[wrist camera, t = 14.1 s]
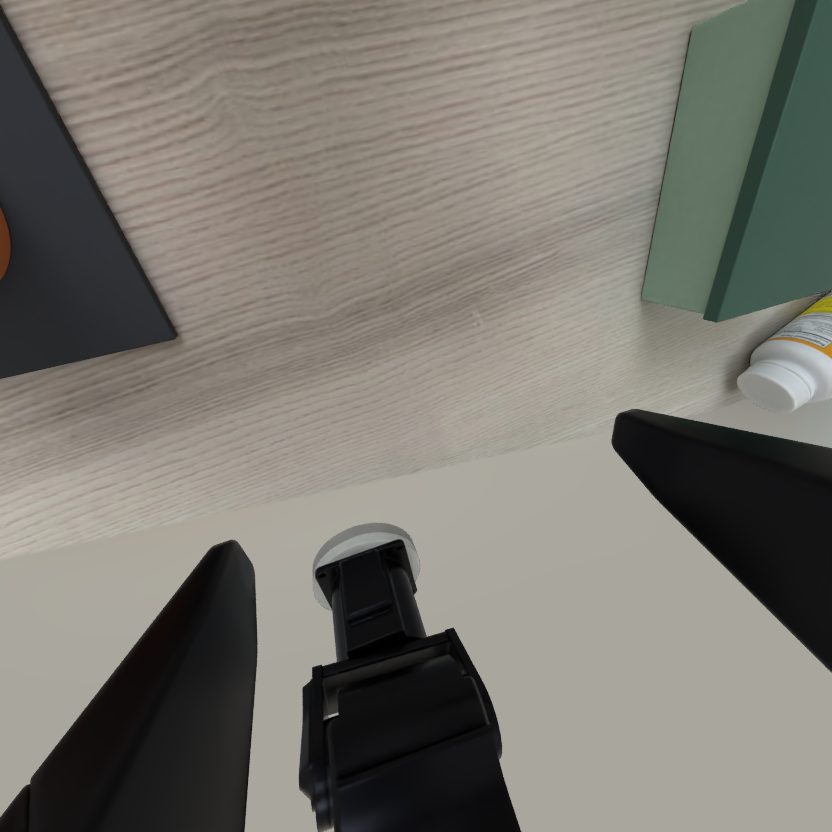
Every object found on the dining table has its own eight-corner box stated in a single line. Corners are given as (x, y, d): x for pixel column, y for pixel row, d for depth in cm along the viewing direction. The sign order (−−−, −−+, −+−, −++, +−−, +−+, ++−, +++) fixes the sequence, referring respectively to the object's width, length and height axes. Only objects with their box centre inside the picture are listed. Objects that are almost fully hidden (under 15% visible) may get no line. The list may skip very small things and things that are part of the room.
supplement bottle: (931, 342, 24) (803, 434, 25) (830, 317, 28) (724, 397, 30) (966, 278, 21) (816, 389, 22) (846, 261, 25) (724, 354, 26)
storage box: (753, 272, 23) (852, 283, 19) (636, 303, 22) (716, 323, 18) (846, 3, 17) (1026, -68, 13) (688, 20, 15) (835, -54, 11)
